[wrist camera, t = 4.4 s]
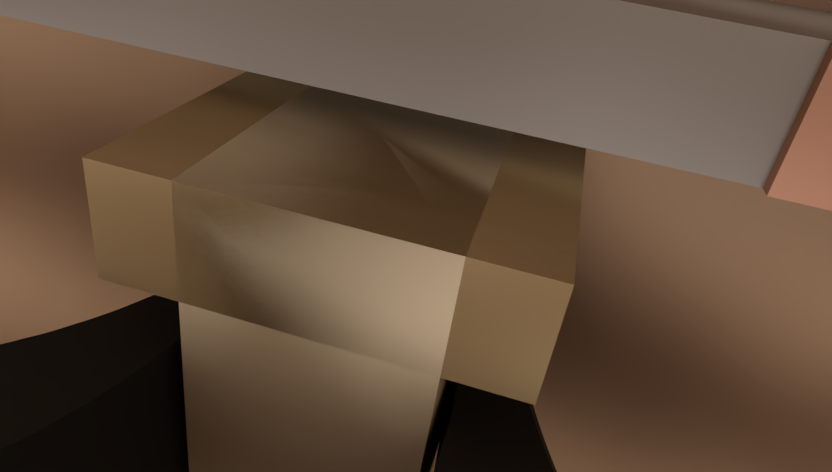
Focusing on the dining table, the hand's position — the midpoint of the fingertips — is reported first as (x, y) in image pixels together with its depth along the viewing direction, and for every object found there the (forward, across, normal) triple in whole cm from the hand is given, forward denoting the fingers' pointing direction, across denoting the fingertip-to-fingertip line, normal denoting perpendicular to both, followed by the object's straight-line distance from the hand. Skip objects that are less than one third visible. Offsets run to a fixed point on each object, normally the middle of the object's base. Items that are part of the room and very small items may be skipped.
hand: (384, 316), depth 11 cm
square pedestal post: (+1, 0, 0) cm, 1 cm away
